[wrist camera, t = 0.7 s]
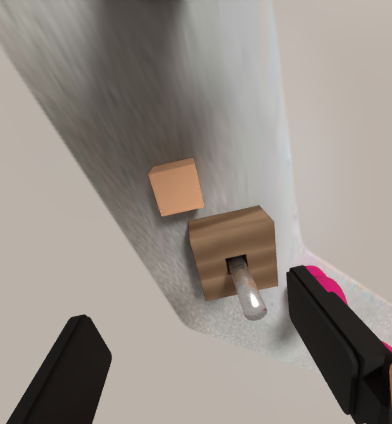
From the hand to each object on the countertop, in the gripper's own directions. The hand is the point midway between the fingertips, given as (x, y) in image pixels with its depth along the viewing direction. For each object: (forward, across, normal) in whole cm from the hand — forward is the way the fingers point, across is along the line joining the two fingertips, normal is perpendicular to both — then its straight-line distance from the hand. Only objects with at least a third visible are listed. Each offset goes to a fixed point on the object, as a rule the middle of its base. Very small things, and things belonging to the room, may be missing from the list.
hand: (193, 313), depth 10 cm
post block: (+24, -5, +12) cm, 28 cm away
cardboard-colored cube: (+24, +1, -1) cm, 24 cm away
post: (+19, -5, +12) cm, 23 cm away
